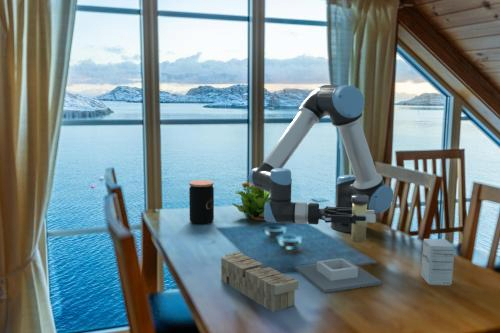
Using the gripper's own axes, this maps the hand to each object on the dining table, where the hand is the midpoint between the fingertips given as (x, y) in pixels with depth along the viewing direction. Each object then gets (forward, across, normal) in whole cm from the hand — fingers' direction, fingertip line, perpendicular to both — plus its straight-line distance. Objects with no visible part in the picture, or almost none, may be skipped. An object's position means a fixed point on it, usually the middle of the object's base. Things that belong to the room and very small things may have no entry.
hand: (374, 216), depth 169 cm
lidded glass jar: (-5, 0, -9) cm, 10 cm away
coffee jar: (-72, -33, -15) cm, 81 cm away
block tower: (-36, +36, -15) cm, 53 cm away
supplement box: (+18, +17, -16) cm, 29 cm away
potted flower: (-47, -45, -16) cm, 67 cm away
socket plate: (-13, +19, -15) cm, 28 cm away
